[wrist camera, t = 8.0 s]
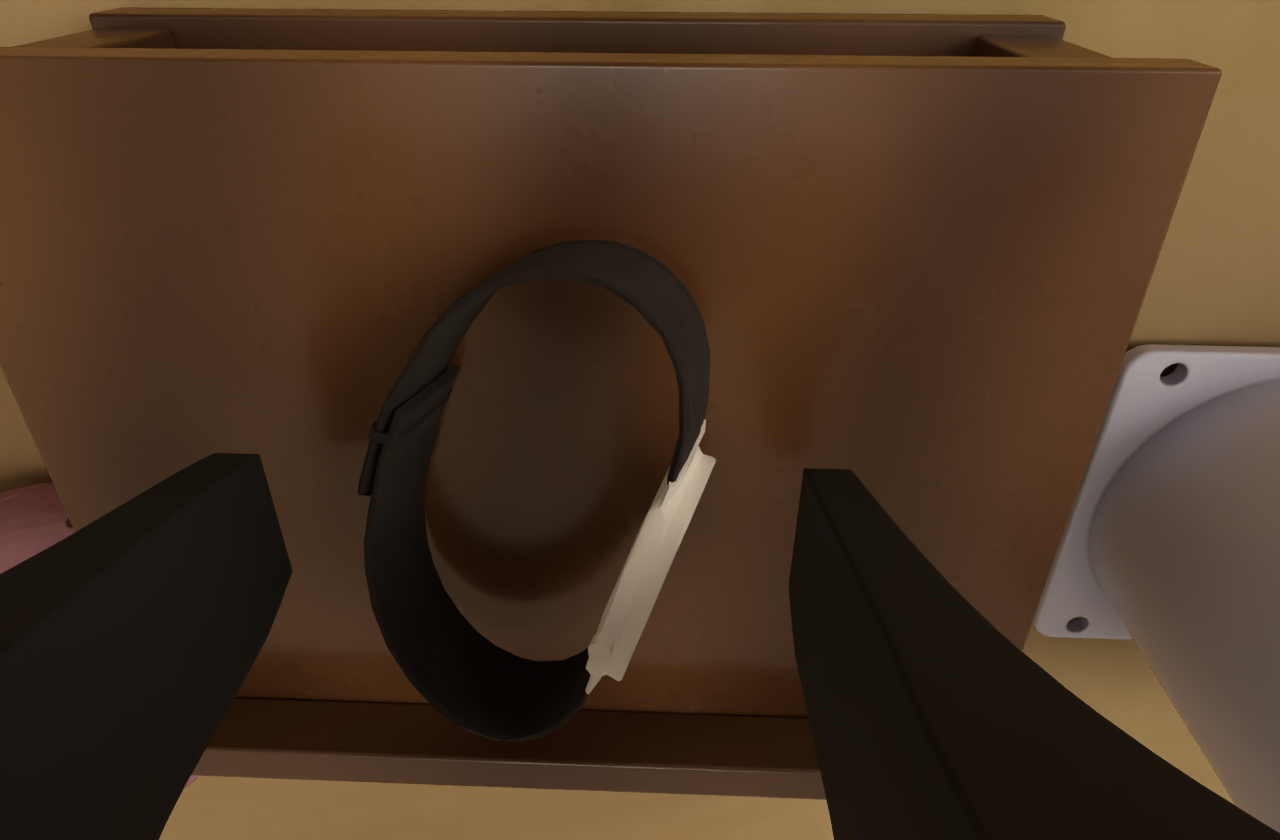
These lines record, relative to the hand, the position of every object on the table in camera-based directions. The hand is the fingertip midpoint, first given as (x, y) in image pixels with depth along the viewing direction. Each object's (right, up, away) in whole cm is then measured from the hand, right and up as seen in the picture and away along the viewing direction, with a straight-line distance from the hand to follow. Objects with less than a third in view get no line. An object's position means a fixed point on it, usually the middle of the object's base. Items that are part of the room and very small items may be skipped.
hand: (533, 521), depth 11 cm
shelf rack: (0, +3, +6) cm, 7 cm away
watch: (0, +1, +2) cm, 2 cm away
